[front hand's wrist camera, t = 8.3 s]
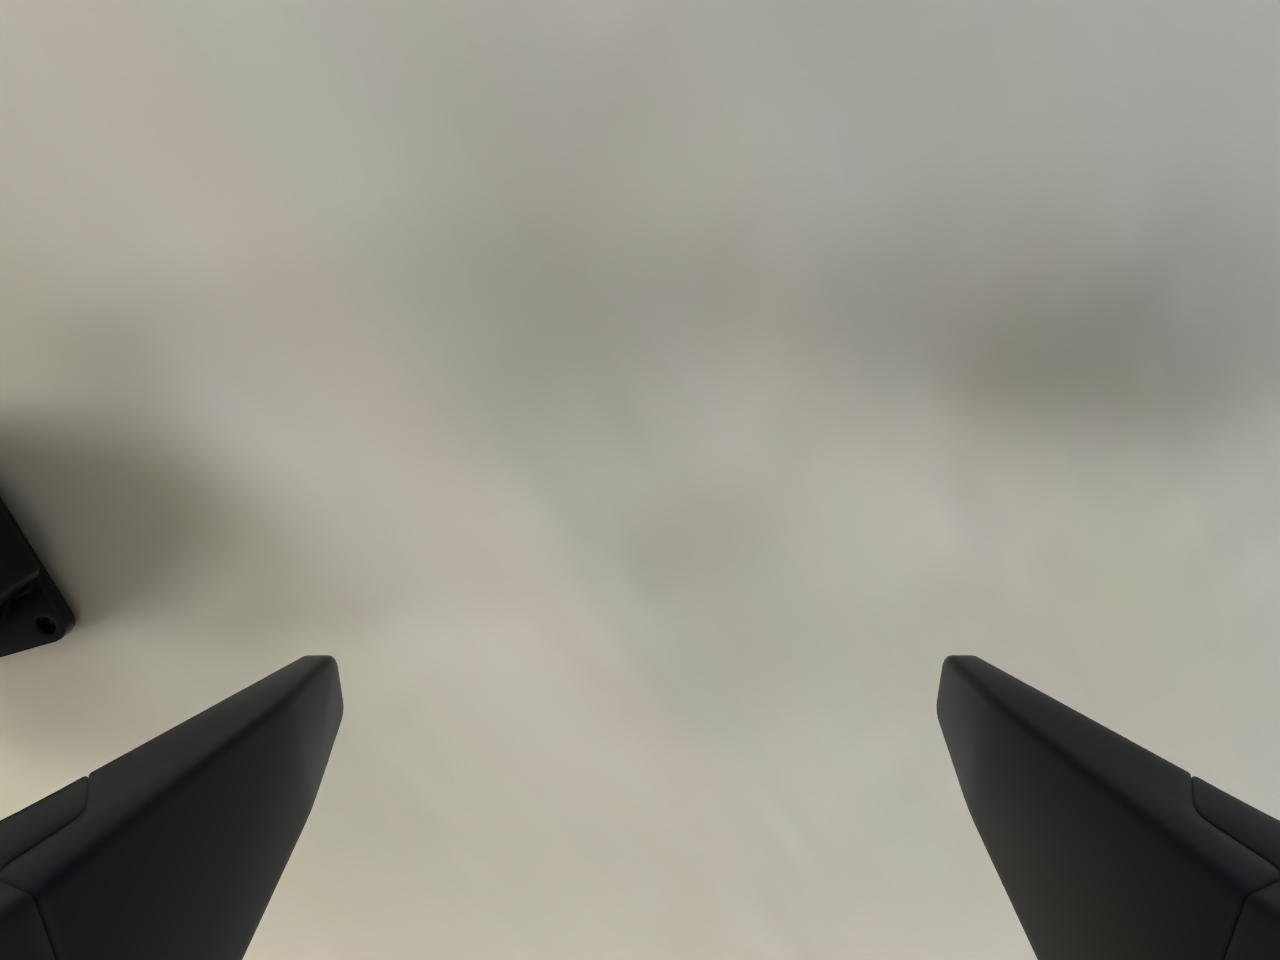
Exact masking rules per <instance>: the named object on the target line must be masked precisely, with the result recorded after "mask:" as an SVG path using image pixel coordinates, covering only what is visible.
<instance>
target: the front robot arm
mask: <svg viewBox="0 0 1280 960" xmlns="http://www.w3.org/2000/svg"><path fill="white" fill-rule="evenodd" d="M47 618H49V619H51V620H52V621H53V622H54V623H55V625H53V624H51V623H50V622H49V621H48V619H47ZM75 620H76V619H75V617H74V614H73V612H72V610H71V609H70V607H69V606H68V604H67V602H66V601H65V599H64V598H63V596H62V595H61V593H60V591H59V590H58V588H57V587H56V585H55V583H54V582H53V580H52V579H51V577H50V575H49V574H48V572H47V571H46V569H45V567H44V566H43V564H42V563H41V561H40V559H39V558H38V556H37V555H36V553H35V552H34V550H33V548H32V547H31V545H30V544H29V542H28V540H27V539H26V537H25V536H24V534H23V532H22V531H21V529H20V528H19V526H18V524H17V523H16V521H15V520H14V518H13V516H12V515H11V513H10V512H9V510H8V509H7V507H6V505H5V504H4V502H3V501H2V499H1V497H0V657H3V656H6V655H10V654H13V653H17V652H20V651H24V650H27V649H31V648H34V647H38V646H41V645H45V644H48V643H52V642H55V641H57V640H59V639H61V638H63V637H64V636H65V635H66V634H68V633H69V632H70V631H72V629H73V628H74V626H75ZM342 715H343V698H342V692H341V685H340V679H339V672H338V666H337V663H336V660H335V659H334V658H333V657H332V656H328V655H308V656H304V657H302V658H300V659H298V660H296V661H294V662H293V663H291V664H289V665H287V666H285V667H284V668H282V669H280V670H278V671H276V672H274V673H273V674H271V675H269V676H267V677H265V678H263V679H262V680H260V681H258V682H256V683H254V684H252V685H251V686H249V687H247V688H245V689H243V690H241V691H240V692H238V693H236V694H234V695H232V696H230V697H229V698H227V699H225V700H223V701H221V702H219V703H218V704H216V705H214V706H212V707H210V708H209V709H207V710H205V711H203V712H201V713H199V714H198V715H196V716H194V717H192V718H190V719H188V720H187V721H185V722H183V723H181V724H179V725H177V726H176V727H174V728H172V729H170V730H168V731H166V732H165V733H163V734H161V735H159V736H157V737H155V738H154V739H152V740H150V741H148V742H146V743H144V744H143V745H141V746H139V747H137V748H135V749H134V750H132V751H130V752H128V753H126V754H124V755H123V756H121V757H119V758H117V759H115V760H113V761H112V762H110V763H108V764H106V765H104V766H102V767H101V768H99V769H97V770H95V771H93V772H92V773H90V775H89V778H88V777H86V776H84V777H82V778H80V779H78V780H76V781H75V782H73V783H71V784H69V785H67V786H66V787H64V788H62V789H60V790H58V791H56V792H55V793H53V794H51V795H49V796H47V797H45V798H43V799H41V800H39V801H38V802H36V803H34V804H32V805H30V806H28V807H26V808H24V809H22V810H21V811H19V812H17V813H15V814H13V815H11V816H9V817H7V818H5V819H3V820H1V821H0V960H242V959H243V957H244V955H245V952H246V950H247V948H248V946H249V944H250V942H251V940H252V937H253V935H254V933H255V931H256V929H257V927H258V924H259V922H260V920H261V918H262V916H263V914H264V912H265V909H266V907H267V905H268V903H269V901H270V899H271V896H272V894H273V892H274V890H275V888H276V886H277V884H278V881H279V879H280V877H281V875H282V873H283V871H284V869H285V866H286V864H287V862H288V860H289V858H290V856H291V853H292V851H293V849H294V847H295V845H296V843H297V841H298V838H299V836H300V834H301V832H302V830H303V828H304V825H305V823H306V821H307V818H308V816H309V814H310V812H311V809H312V806H313V804H314V801H315V798H316V795H317V792H318V789H319V786H320V783H321V780H322V777H323V774H324V771H325V768H326V765H327V762H328V759H329V756H330V753H331V750H332V747H333V744H334V741H335V738H336V735H337V732H338V729H339V726H340V723H341V720H342ZM937 715H938V720H939V723H940V726H941V729H942V732H943V735H944V738H945V741H946V744H947V747H948V750H949V753H950V756H951V759H952V762H953V765H954V768H955V771H956V774H957V777H958V780H959V783H960V786H961V789H962V792H963V795H964V798H965V801H966V804H967V806H968V809H969V812H970V814H971V816H972V818H973V821H974V823H975V825H976V828H977V830H978V832H979V834H980V836H981V838H982V841H983V843H984V845H985V847H986V849H987V851H988V853H989V856H990V858H991V860H992V862H993V864H994V866H995V869H996V871H997V873H998V875H999V877H1000V879H1001V881H1002V884H1003V886H1004V888H1005V890H1006V892H1007V894H1008V896H1009V899H1010V901H1011V903H1012V905H1013V907H1014V909H1015V912H1016V914H1017V916H1018V918H1019V920H1020V922H1021V924H1022V927H1023V929H1024V931H1025V933H1026V935H1027V937H1028V940H1029V942H1030V944H1031V946H1032V948H1033V950H1034V952H1035V955H1036V957H1037V959H1038V960H1280V821H1279V820H1277V819H1275V818H1273V817H1271V816H1269V815H1267V814H1265V813H1263V812H1261V811H1259V810H1258V809H1256V808H1254V807H1252V806H1250V805H1248V804H1246V803H1244V802H1242V801H1241V800H1239V799H1237V798H1235V797H1233V796H1231V795H1229V794H1227V793H1225V792H1224V791H1222V790H1220V789H1218V788H1216V787H1214V786H1213V785H1211V784H1209V783H1207V782H1205V781H1204V780H1202V779H1200V778H1198V777H1196V776H1194V777H1192V778H1191V775H1190V773H1189V772H1187V771H1185V770H1183V769H1181V768H1179V767H1178V766H1176V765H1174V764H1172V763H1170V762H1168V761H1167V760H1165V759H1163V758H1161V757H1159V756H1158V755H1156V754H1154V753H1152V752H1150V751H1148V750H1147V749H1145V748H1143V747H1141V746H1139V745H1137V744H1136V743H1134V742H1132V741H1130V740H1128V739H1126V738H1125V737H1123V736H1121V735H1119V734H1117V733H1115V732H1114V731H1112V730H1110V729H1108V728H1106V727H1104V726H1103V725H1101V724H1099V723H1097V722H1095V721H1093V720H1092V719H1090V718H1088V717H1086V716H1084V715H1082V714H1081V713H1079V712H1077V711H1075V710H1073V709H1071V708H1070V707H1068V706H1066V705H1064V704H1062V703H1060V702H1059V701H1057V700H1055V699H1053V698H1051V697H1050V696H1048V695H1046V694H1044V693H1042V692H1040V691H1039V690H1037V689H1035V688H1033V687H1031V686H1029V685H1028V684H1026V683H1024V682H1022V681H1020V680H1018V679H1017V678H1015V677H1013V676H1011V675H1009V674H1007V673H1006V672H1004V671H1002V670H1000V669H998V668H996V667H995V666H993V665H991V664H989V663H987V662H986V661H984V660H982V659H980V658H978V657H976V656H972V655H952V656H948V657H947V658H946V659H945V660H944V663H943V666H942V672H941V679H940V685H939V692H938V698H937Z"/></svg>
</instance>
